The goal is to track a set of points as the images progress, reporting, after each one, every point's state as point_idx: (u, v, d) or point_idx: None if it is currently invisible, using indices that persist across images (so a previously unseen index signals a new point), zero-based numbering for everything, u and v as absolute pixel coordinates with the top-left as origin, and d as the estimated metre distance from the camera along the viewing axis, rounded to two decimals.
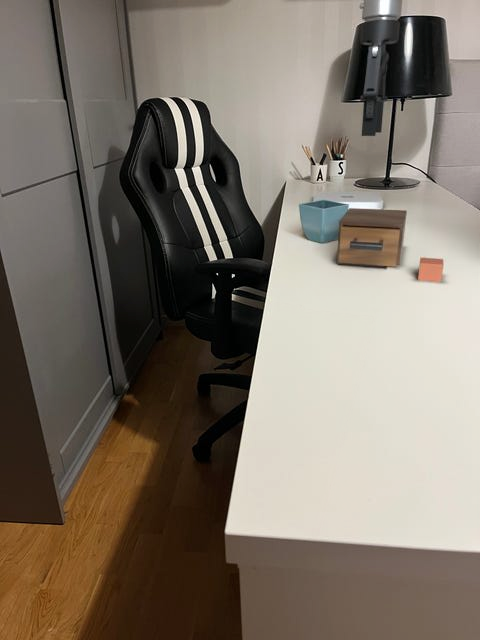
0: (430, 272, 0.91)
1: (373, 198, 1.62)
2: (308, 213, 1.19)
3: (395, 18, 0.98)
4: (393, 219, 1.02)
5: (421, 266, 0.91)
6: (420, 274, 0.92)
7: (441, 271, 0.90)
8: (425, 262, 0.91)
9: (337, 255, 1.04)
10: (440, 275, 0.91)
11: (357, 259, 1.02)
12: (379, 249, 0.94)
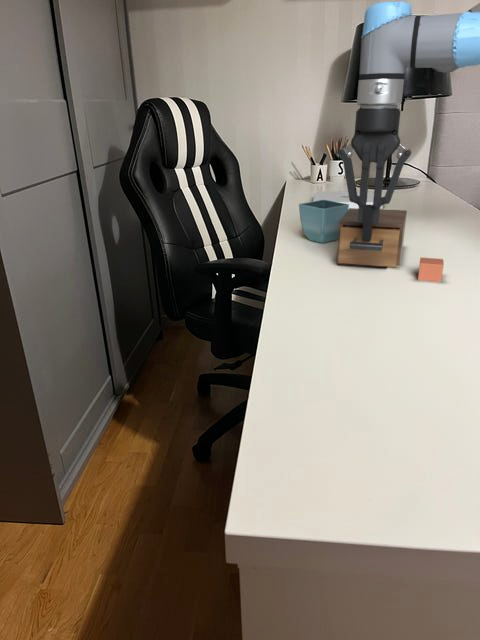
0: (430, 272, 0.91)
1: (373, 198, 1.62)
2: (308, 213, 1.19)
3: None
4: (393, 219, 1.02)
5: (421, 266, 0.91)
6: (420, 274, 0.92)
7: (441, 271, 0.90)
8: (425, 262, 0.91)
9: (337, 255, 1.04)
10: (440, 275, 0.91)
11: (357, 259, 1.01)
12: (379, 249, 0.94)
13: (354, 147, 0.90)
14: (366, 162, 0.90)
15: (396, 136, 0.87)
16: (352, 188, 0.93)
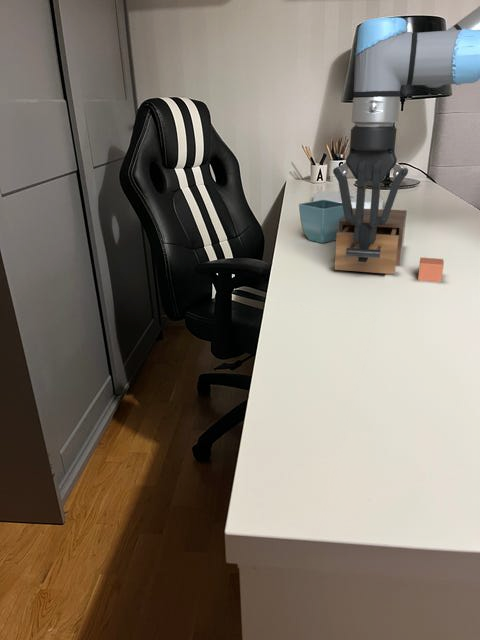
0: (430, 272, 0.91)
1: None
2: (308, 213, 1.19)
3: None
4: (393, 219, 1.02)
5: (421, 266, 0.91)
6: (420, 274, 0.92)
7: (441, 271, 0.90)
8: (425, 262, 0.91)
9: None
10: (440, 275, 0.91)
11: (354, 266, 0.97)
12: (377, 256, 0.90)
13: (349, 166, 0.87)
14: (362, 181, 0.87)
15: (392, 155, 0.84)
16: (348, 207, 0.90)
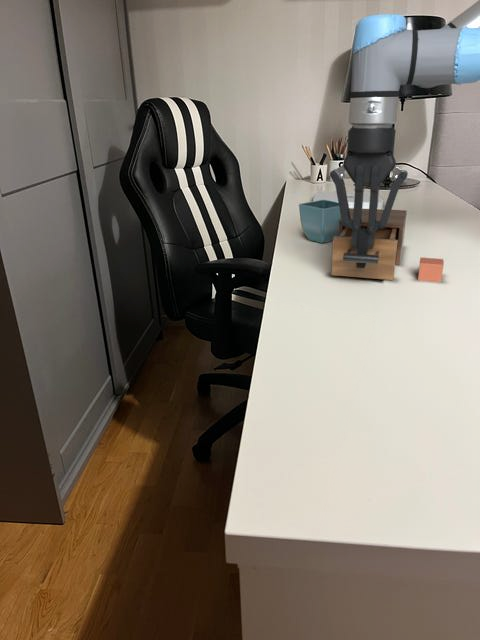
0: (430, 272, 0.91)
1: None
2: (308, 213, 1.19)
3: None
4: (393, 219, 1.02)
5: (421, 266, 0.91)
6: (420, 274, 0.92)
7: (441, 271, 0.90)
8: (425, 262, 0.91)
9: None
10: (440, 275, 0.91)
11: (351, 272, 0.94)
12: (375, 262, 0.87)
13: (346, 169, 0.84)
14: (359, 185, 0.84)
15: (391, 157, 0.81)
16: (345, 212, 0.87)
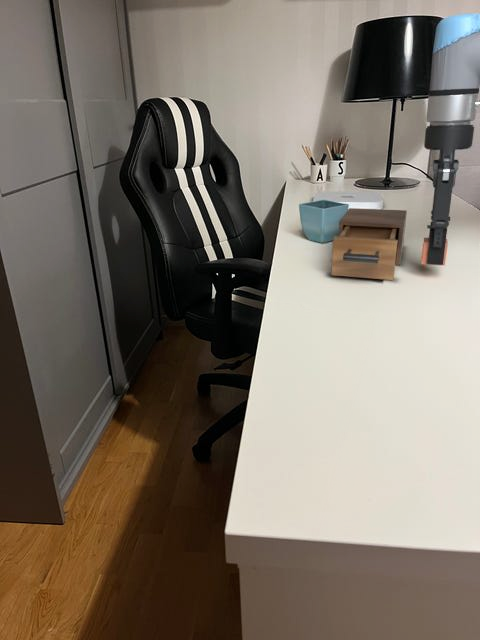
0: None
1: (373, 198, 1.62)
2: (308, 213, 1.19)
3: None
4: (393, 219, 1.02)
5: (425, 245, 0.90)
6: (424, 254, 0.90)
7: (445, 250, 0.89)
8: None
9: None
10: (444, 254, 0.89)
11: (351, 272, 0.94)
12: (375, 262, 0.87)
13: (452, 167, 0.82)
14: (454, 181, 0.84)
15: None
16: None
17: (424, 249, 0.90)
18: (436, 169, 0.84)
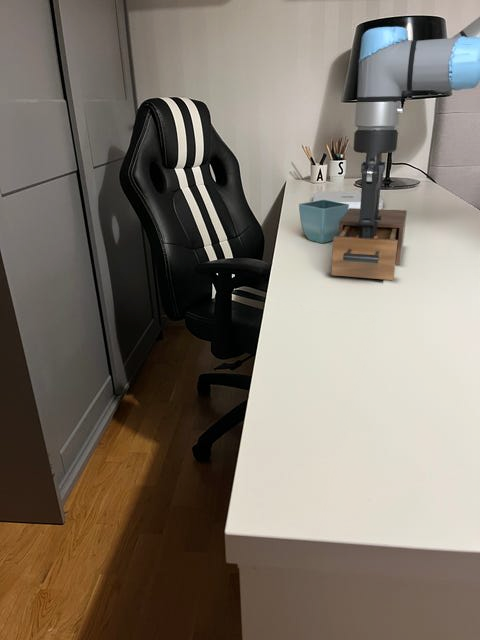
0: None
1: None
2: (308, 213, 1.19)
3: None
4: (393, 219, 1.02)
5: None
6: None
7: None
8: None
9: None
10: None
11: (351, 272, 0.94)
12: (375, 262, 0.87)
13: (377, 169, 0.88)
14: (380, 182, 0.90)
15: None
16: (374, 211, 0.89)
17: None
18: None
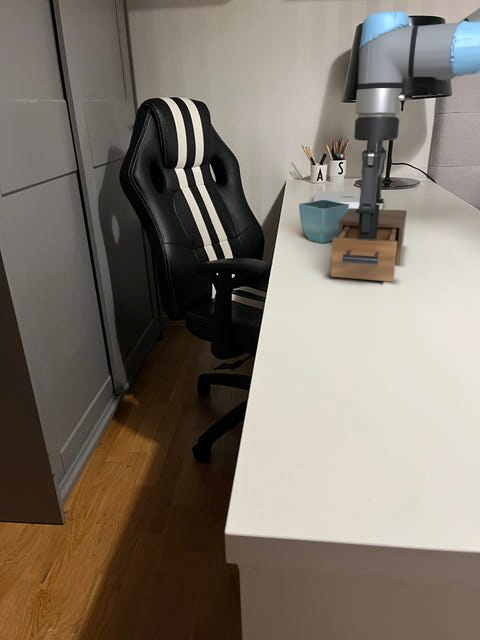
0: None
1: None
2: (308, 213, 1.19)
3: None
4: (393, 219, 1.02)
5: None
6: None
7: None
8: None
9: None
10: None
11: (351, 273, 0.93)
12: (374, 263, 0.86)
13: None
14: (381, 170, 0.89)
15: None
16: (374, 197, 0.86)
17: None
18: None
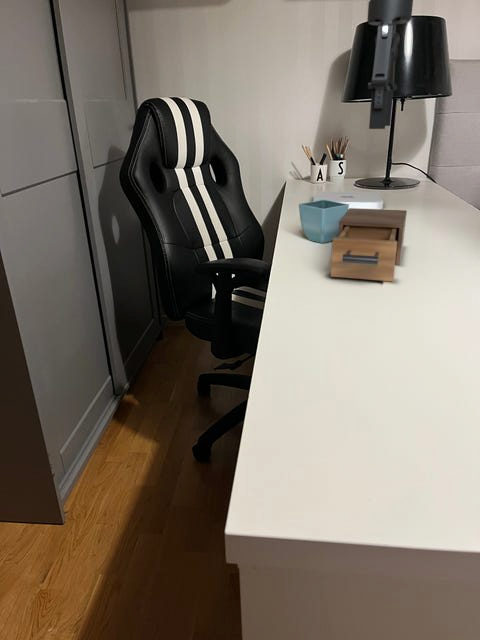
0: None
1: (373, 198, 1.62)
2: (308, 213, 1.19)
3: None
4: (393, 219, 1.02)
5: None
6: None
7: None
8: None
9: None
10: None
11: (351, 273, 0.93)
12: (374, 263, 0.86)
13: None
14: (395, 50, 0.88)
15: None
16: (388, 69, 0.84)
17: None
18: None
